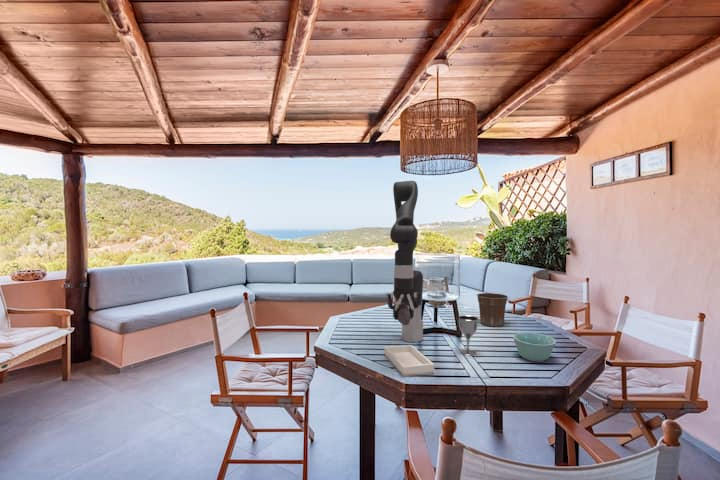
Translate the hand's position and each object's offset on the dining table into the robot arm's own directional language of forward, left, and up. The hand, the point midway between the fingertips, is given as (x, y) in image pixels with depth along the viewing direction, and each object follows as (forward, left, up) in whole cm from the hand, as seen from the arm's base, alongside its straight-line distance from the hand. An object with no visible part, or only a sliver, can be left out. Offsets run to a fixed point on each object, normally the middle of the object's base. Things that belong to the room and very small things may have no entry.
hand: (403, 318), depth 138 cm
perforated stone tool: (0, 0, -2) cm, 2 cm away
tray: (-1, +1, -18) cm, 18 cm away
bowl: (-54, +7, -18) cm, 58 cm away
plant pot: (-68, -42, -18) cm, 82 cm away
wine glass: (-31, -5, -18) cm, 36 cm away
